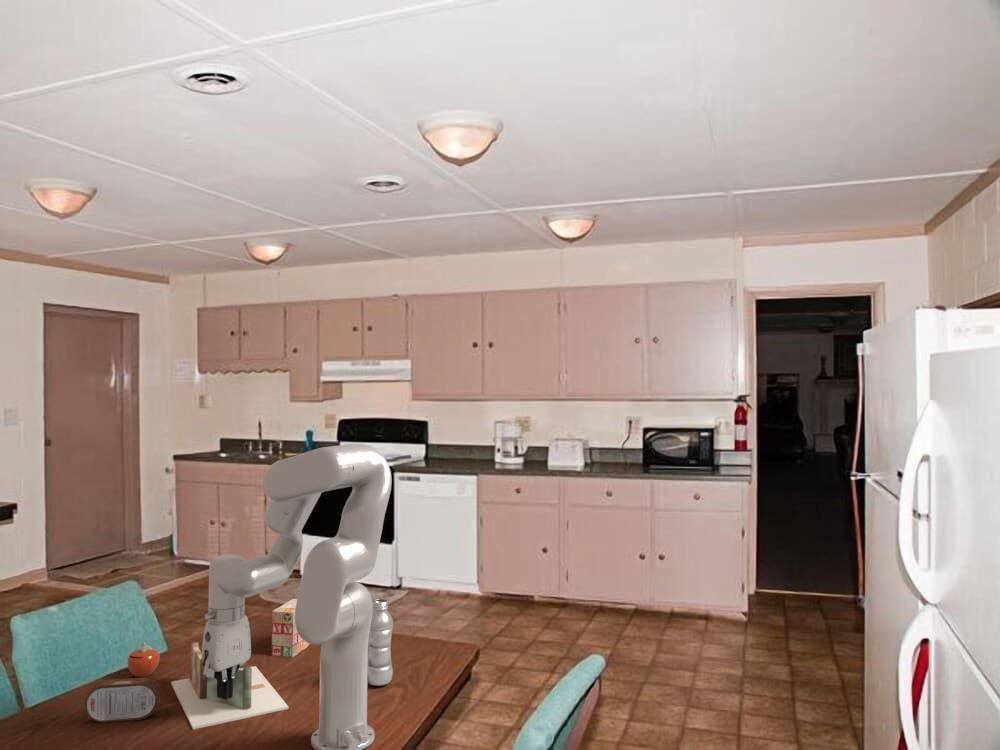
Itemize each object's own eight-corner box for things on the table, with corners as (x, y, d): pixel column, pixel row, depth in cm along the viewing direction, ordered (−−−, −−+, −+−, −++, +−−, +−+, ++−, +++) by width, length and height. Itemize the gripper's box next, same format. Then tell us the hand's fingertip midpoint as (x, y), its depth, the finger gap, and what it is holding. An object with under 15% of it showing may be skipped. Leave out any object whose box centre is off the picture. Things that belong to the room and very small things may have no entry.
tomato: (119, 678, 183) (120, 645, 184) (141, 668, 191) (141, 636, 191) (145, 681, 182) (146, 648, 182) (166, 670, 189) (166, 638, 189)
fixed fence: (209, 697, 171) (210, 660, 171) (200, 699, 170) (201, 661, 170) (197, 676, 183) (198, 641, 184) (188, 678, 182) (189, 643, 183)
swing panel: (205, 699, 170) (206, 661, 170) (211, 696, 171) (212, 659, 172) (246, 709, 164) (247, 670, 165) (252, 706, 166) (253, 668, 166)
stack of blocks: (306, 631, 221) (307, 590, 221) (326, 633, 220) (327, 591, 220) (271, 656, 200) (271, 610, 200) (292, 658, 199) (293, 611, 199)
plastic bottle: (359, 686, 180) (360, 602, 180) (377, 676, 186) (377, 596, 186) (381, 691, 177) (382, 606, 177) (398, 681, 183) (399, 599, 183)
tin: (161, 713, 164) (162, 675, 164) (158, 719, 161) (159, 680, 161) (86, 719, 160) (87, 680, 161) (81, 726, 157) (82, 685, 158)
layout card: (288, 708, 166) (288, 706, 166) (192, 729, 156) (192, 726, 156) (255, 668, 191) (255, 665, 191) (171, 683, 180) (171, 681, 180)
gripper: (209, 624, 156) (207, 713, 155) (264, 607, 169) (263, 689, 168) (185, 618, 160) (184, 705, 159) (242, 602, 172) (240, 682, 172)
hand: (224, 697), depth 164 cm, fingers closed
